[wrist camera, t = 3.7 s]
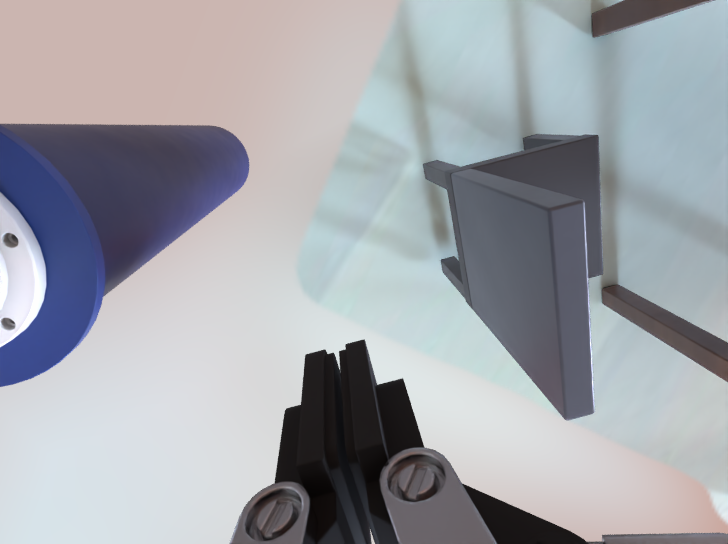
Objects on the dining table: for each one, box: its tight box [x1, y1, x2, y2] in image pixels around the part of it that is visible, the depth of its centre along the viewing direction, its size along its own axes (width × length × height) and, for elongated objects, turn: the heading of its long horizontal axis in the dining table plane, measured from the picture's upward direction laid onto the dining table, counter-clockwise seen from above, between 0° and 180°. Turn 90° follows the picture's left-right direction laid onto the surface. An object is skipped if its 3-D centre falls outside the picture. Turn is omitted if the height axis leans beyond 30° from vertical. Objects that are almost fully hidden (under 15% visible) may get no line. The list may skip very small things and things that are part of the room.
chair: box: [423, 134, 603, 420], centre depth 18 cm, size 7×7×14 cm
